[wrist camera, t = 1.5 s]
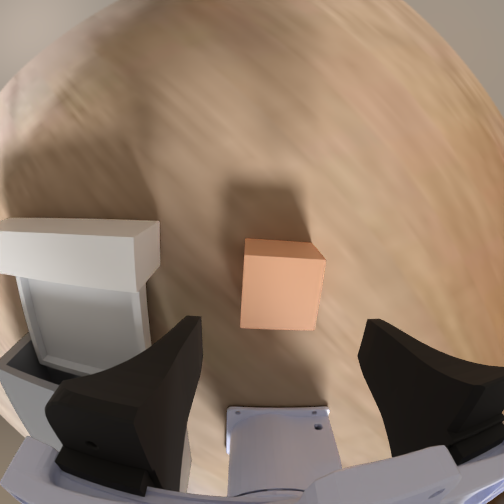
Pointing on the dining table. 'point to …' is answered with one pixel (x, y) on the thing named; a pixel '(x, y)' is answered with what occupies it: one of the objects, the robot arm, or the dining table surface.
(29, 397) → the housing
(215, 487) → the dining table surface
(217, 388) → the dining table surface
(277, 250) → the block
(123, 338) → the tray
